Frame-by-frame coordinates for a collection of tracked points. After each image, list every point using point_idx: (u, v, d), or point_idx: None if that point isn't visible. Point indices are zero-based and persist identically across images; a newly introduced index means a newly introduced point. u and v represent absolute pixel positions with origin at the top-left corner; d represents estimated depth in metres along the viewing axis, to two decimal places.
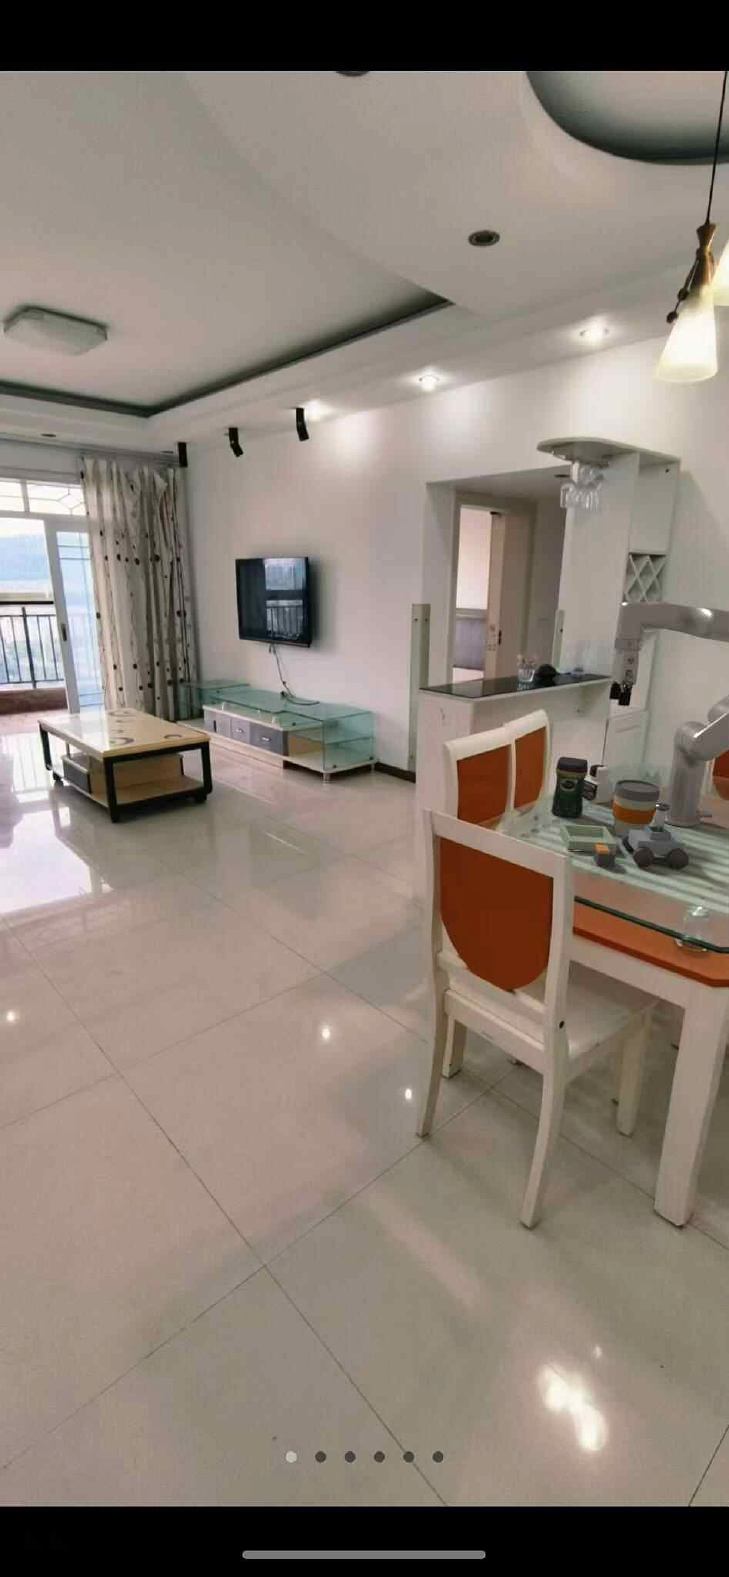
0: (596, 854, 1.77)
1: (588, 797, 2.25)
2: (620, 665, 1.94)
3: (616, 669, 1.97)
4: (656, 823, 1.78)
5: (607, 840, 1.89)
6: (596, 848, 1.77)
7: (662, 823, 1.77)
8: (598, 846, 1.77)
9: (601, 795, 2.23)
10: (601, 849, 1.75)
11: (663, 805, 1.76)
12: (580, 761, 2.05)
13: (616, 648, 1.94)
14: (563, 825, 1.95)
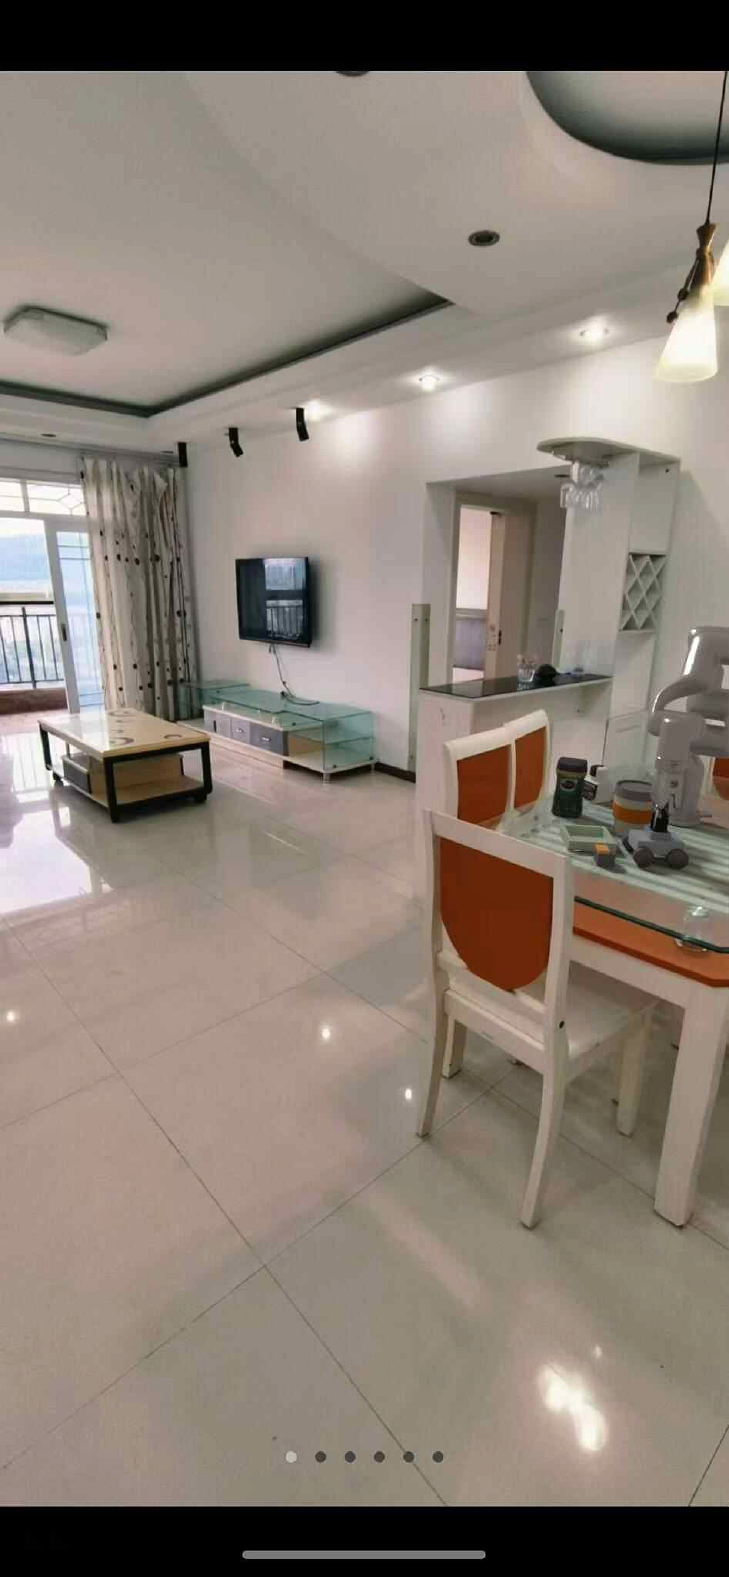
0: (596, 854, 1.77)
1: (588, 797, 2.25)
2: (661, 787, 1.72)
3: (656, 790, 1.75)
4: None
5: (607, 840, 1.89)
6: (596, 848, 1.77)
7: None
8: (598, 846, 1.77)
9: (601, 795, 2.23)
10: (601, 849, 1.75)
11: None
12: (580, 761, 2.05)
13: (657, 768, 1.72)
14: (563, 825, 1.95)
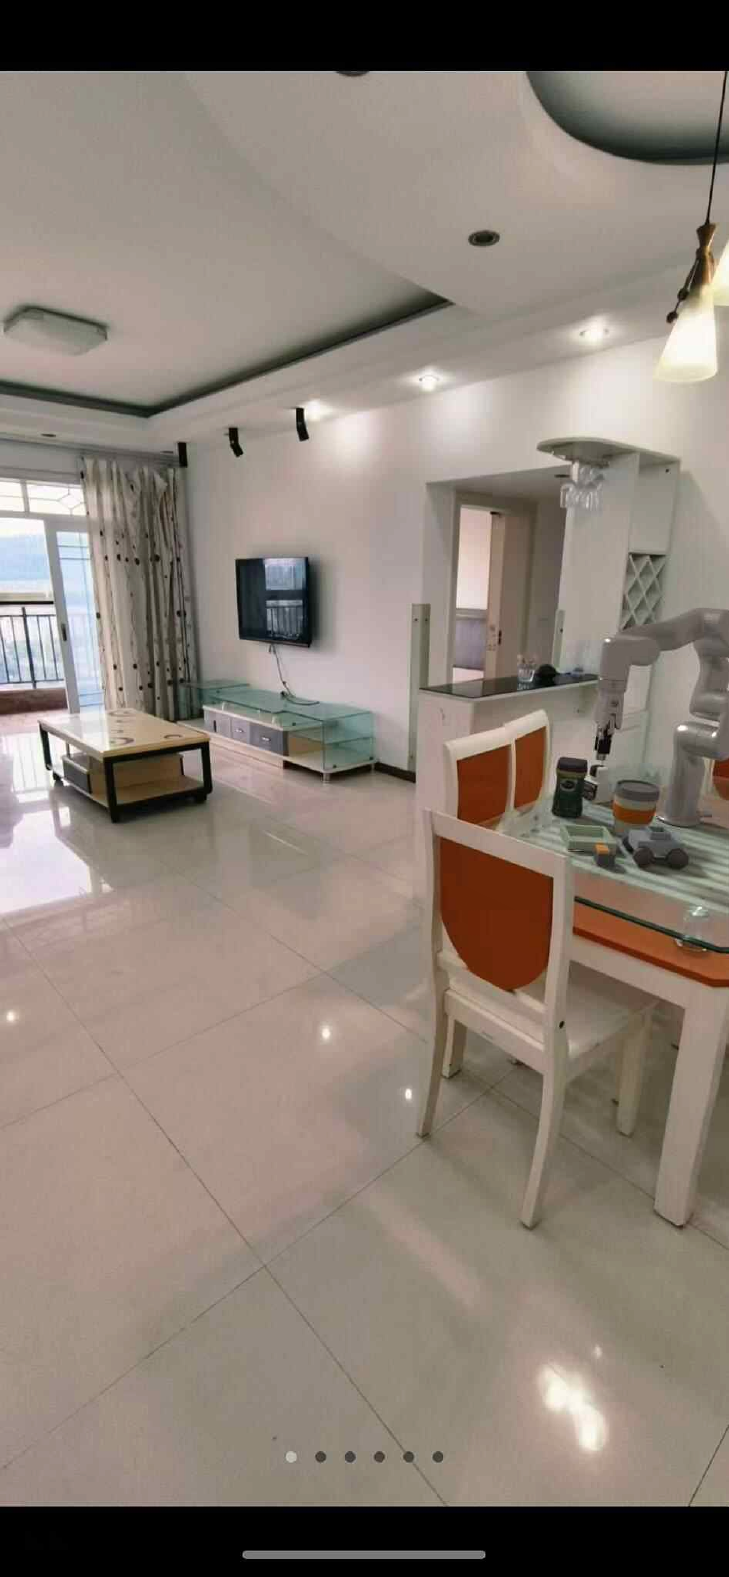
0: (596, 854, 1.77)
1: (588, 797, 2.25)
2: (603, 708, 1.74)
3: (599, 712, 1.77)
4: None
5: (607, 840, 1.89)
6: (596, 848, 1.77)
7: None
8: (598, 846, 1.77)
9: (601, 795, 2.23)
10: (601, 849, 1.75)
11: (606, 727, 1.79)
12: (580, 761, 2.05)
13: (599, 689, 1.75)
14: (563, 825, 1.95)
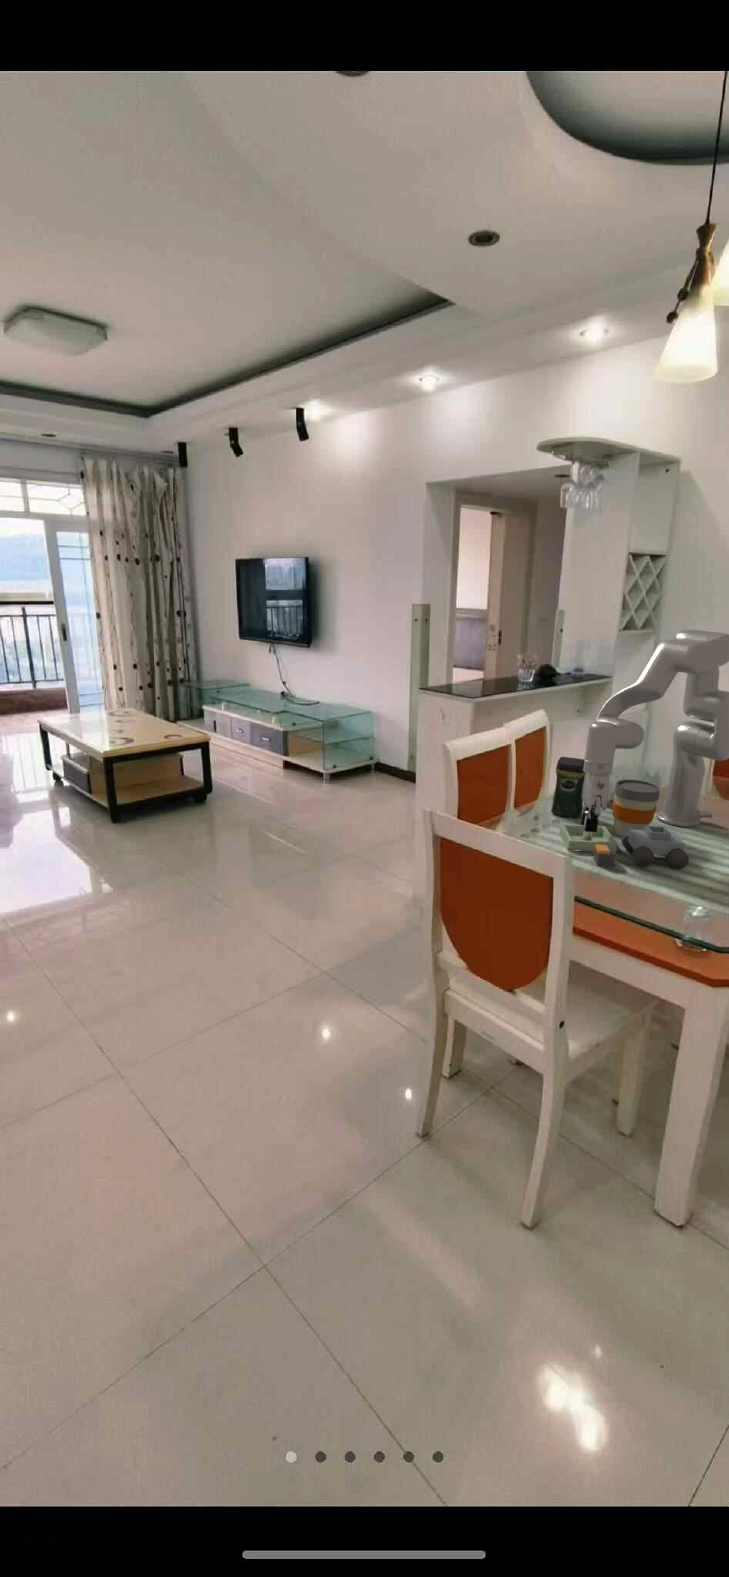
0: (596, 854, 1.77)
1: None
2: (589, 789, 1.82)
3: (586, 791, 1.85)
4: None
5: (607, 840, 1.89)
6: (596, 848, 1.77)
7: None
8: (598, 846, 1.77)
9: None
10: (601, 849, 1.75)
11: (591, 812, 1.87)
12: (580, 761, 2.05)
13: (585, 771, 1.82)
14: (563, 825, 1.95)
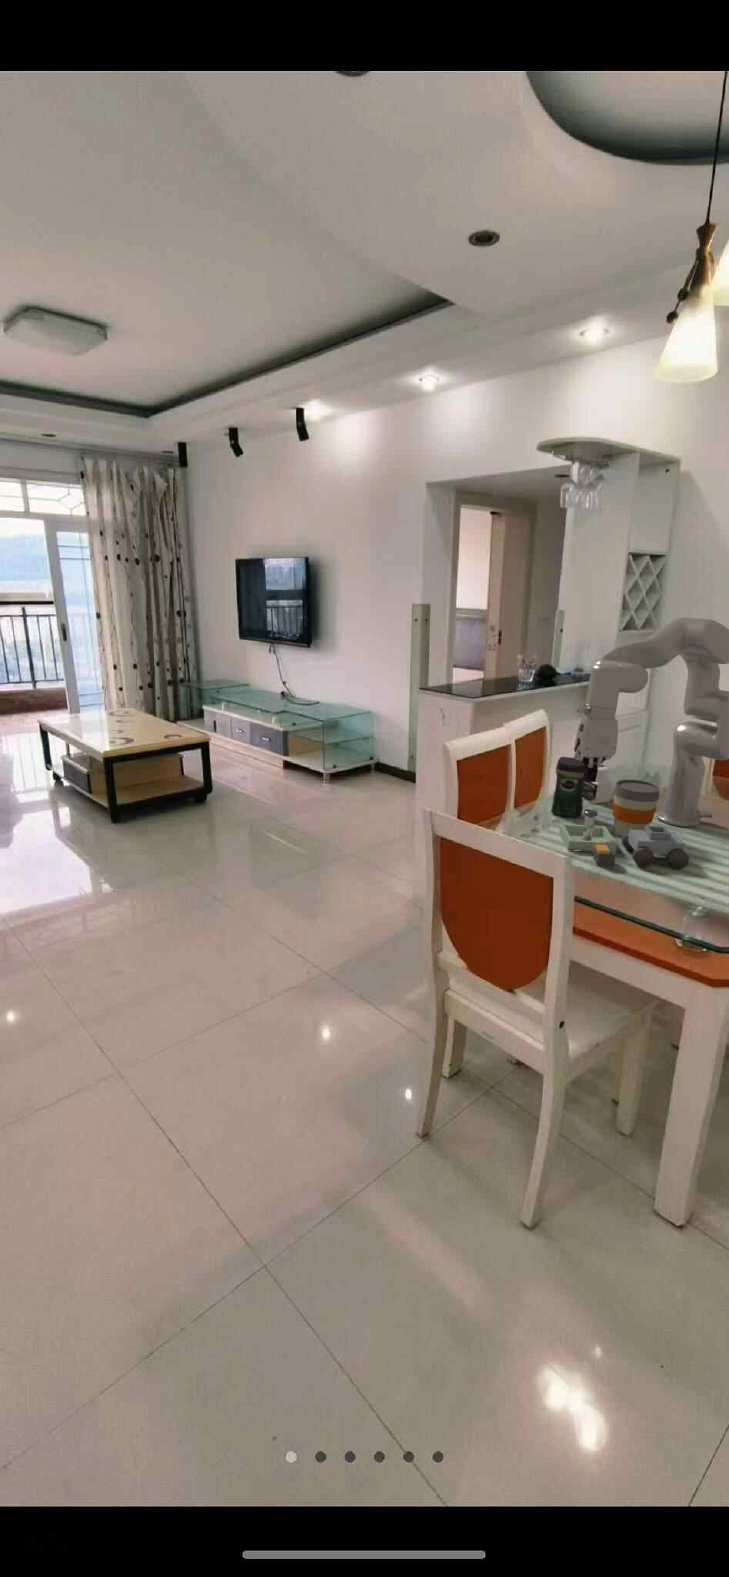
0: (596, 854, 1.77)
1: (588, 797, 2.25)
2: None
3: None
4: (585, 829, 1.88)
5: (607, 840, 1.89)
6: (596, 848, 1.77)
7: (591, 828, 1.88)
8: (598, 846, 1.77)
9: (601, 795, 2.23)
10: (601, 849, 1.75)
11: (591, 812, 1.87)
12: (580, 761, 2.05)
13: None
14: (563, 825, 1.95)
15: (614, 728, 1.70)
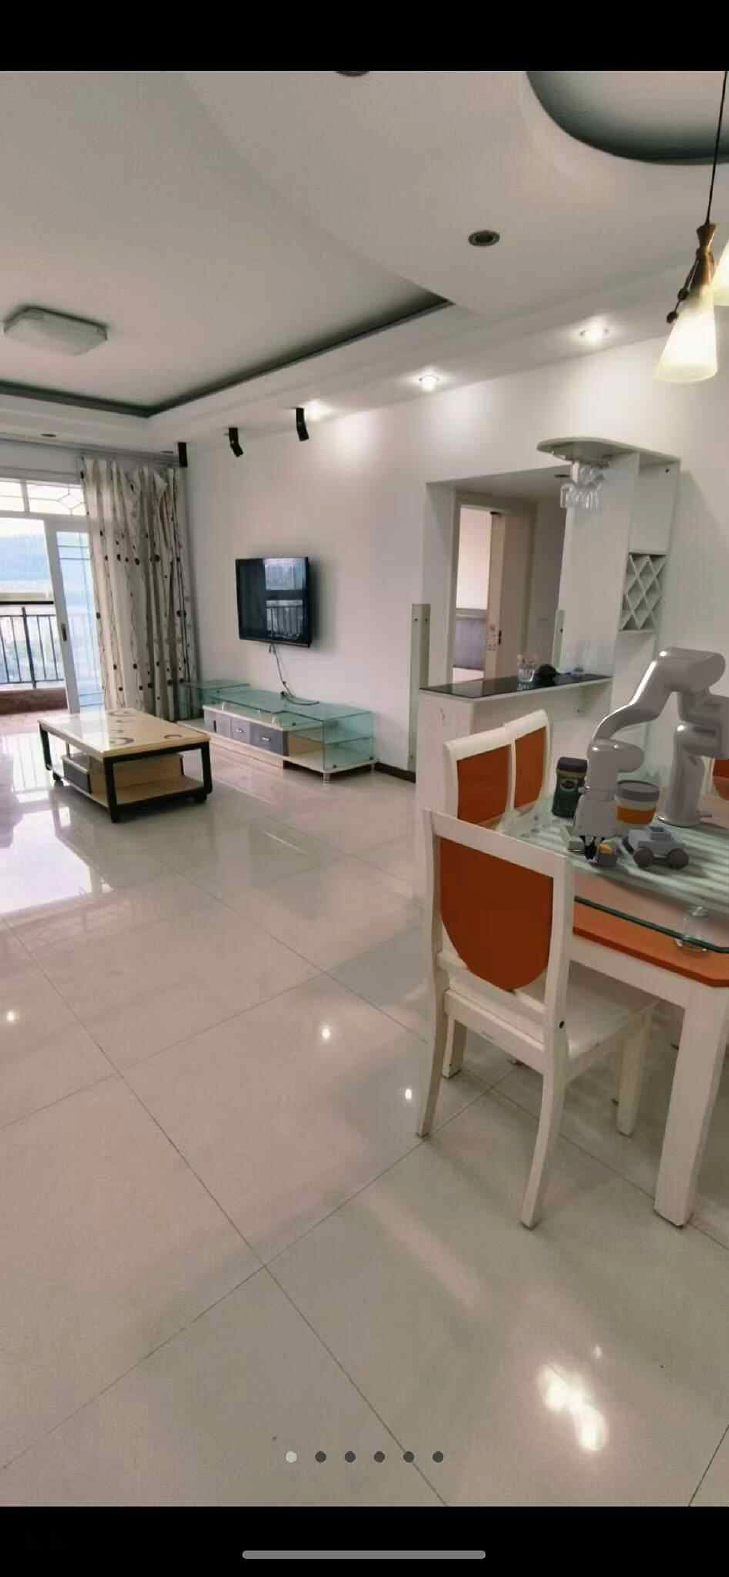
0: (598, 853, 1.76)
1: None
2: None
3: None
4: None
5: (607, 840, 1.89)
6: (598, 847, 1.77)
7: None
8: (600, 845, 1.77)
9: None
10: (603, 848, 1.75)
11: None
12: (580, 761, 2.05)
13: None
14: (563, 825, 1.95)
15: (612, 810, 1.70)
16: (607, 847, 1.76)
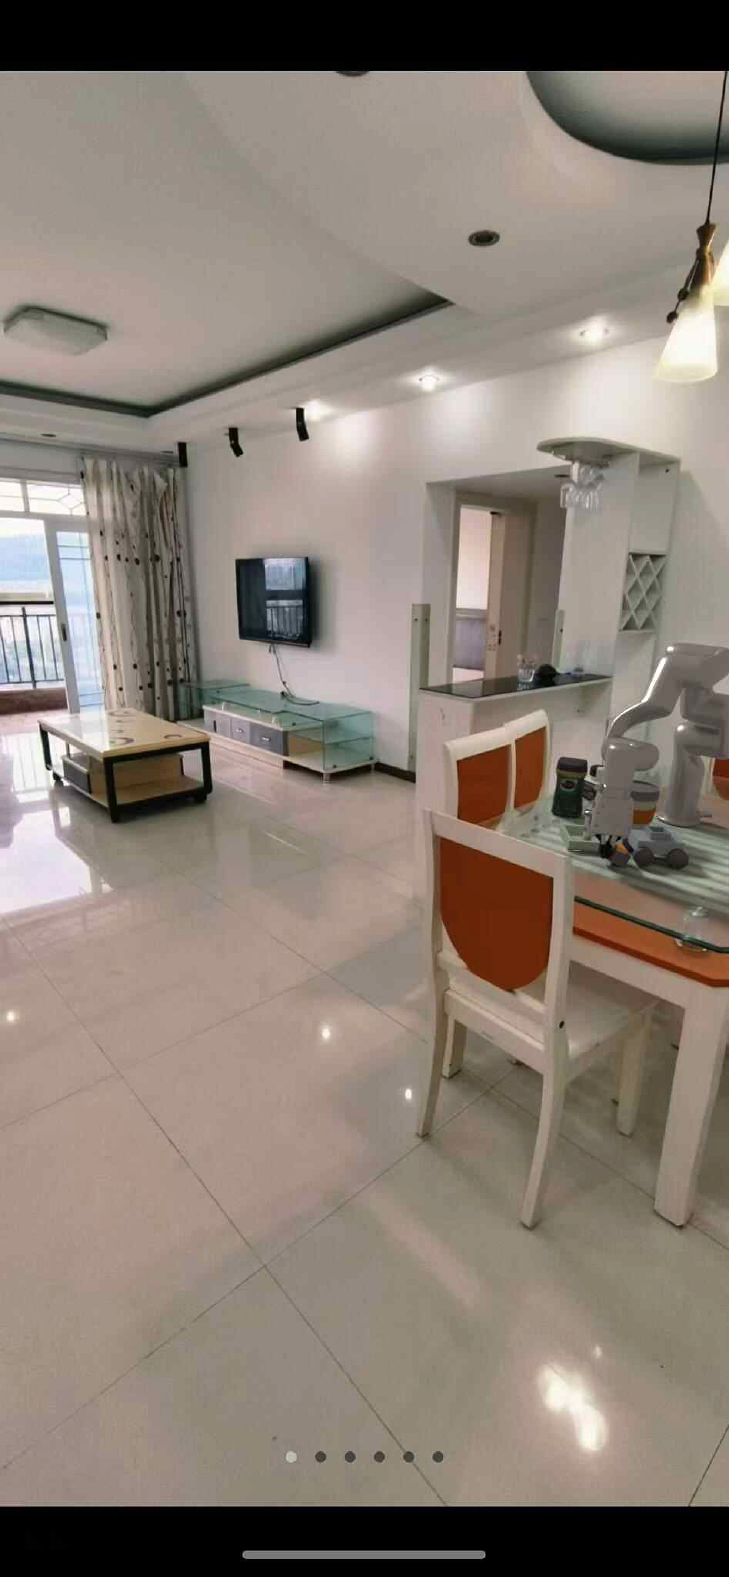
0: (612, 850, 1.76)
1: (588, 797, 2.25)
2: None
3: None
4: (585, 829, 1.88)
5: None
6: (613, 845, 1.76)
7: None
8: (616, 844, 1.76)
9: None
10: (619, 847, 1.74)
11: None
12: (580, 761, 2.05)
13: None
14: (563, 825, 1.95)
15: (628, 808, 1.69)
16: (622, 847, 1.75)
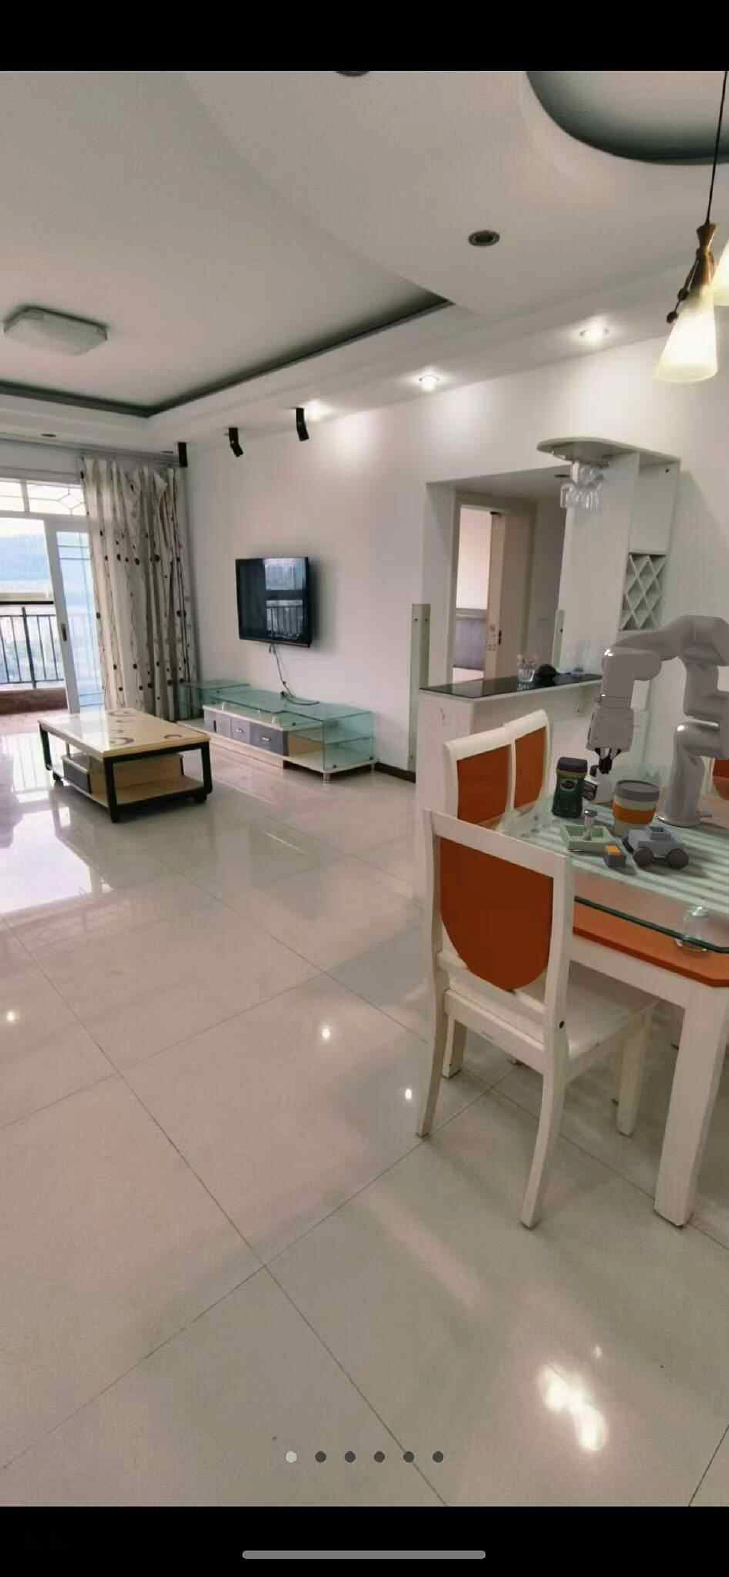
0: (607, 855, 1.76)
1: (588, 797, 2.25)
2: None
3: None
4: (585, 829, 1.88)
5: (607, 840, 1.89)
6: (606, 850, 1.77)
7: (591, 828, 1.88)
8: (608, 847, 1.76)
9: (601, 795, 2.23)
10: (612, 850, 1.74)
11: (591, 811, 1.87)
12: (580, 761, 2.05)
13: None
14: (563, 825, 1.95)
15: (628, 719, 1.63)
16: (615, 849, 1.76)
